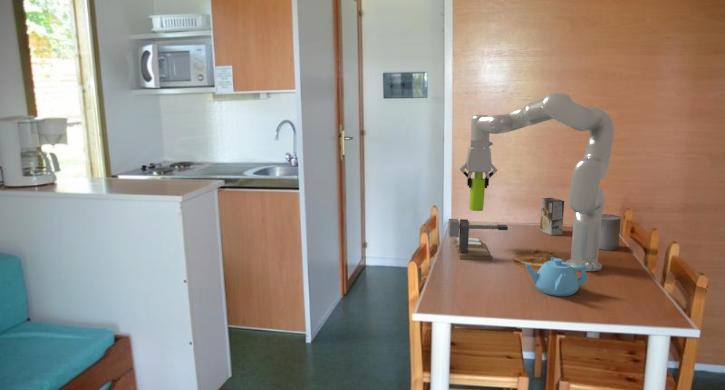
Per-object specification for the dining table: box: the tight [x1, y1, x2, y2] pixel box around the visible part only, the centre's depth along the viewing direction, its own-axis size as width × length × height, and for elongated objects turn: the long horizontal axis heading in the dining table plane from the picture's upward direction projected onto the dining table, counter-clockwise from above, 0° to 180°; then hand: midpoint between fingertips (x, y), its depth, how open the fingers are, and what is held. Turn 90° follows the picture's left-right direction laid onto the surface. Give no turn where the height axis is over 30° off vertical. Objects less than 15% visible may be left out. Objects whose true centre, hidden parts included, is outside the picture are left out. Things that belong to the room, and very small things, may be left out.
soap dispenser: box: [468, 172, 486, 212], centre depth 227 cm, size 6×7×20 cm
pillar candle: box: [599, 213, 621, 252], centre depth 228 cm, size 10×10×15 cm
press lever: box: [447, 218, 509, 238], centre depth 215 cm, size 6×23×6 cm, turn 87°
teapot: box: [525, 256, 589, 297], centre depth 179 cm, size 15×15×11 cm
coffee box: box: [539, 197, 565, 236], centre depth 253 cm, size 9×6×16 cm
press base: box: [452, 218, 491, 261], centre depth 223 cm, size 24×12×14 cm, turn 177°
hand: (477, 187), depth 227 cm, fingers closed on soap dispenser, 6 cm apart
